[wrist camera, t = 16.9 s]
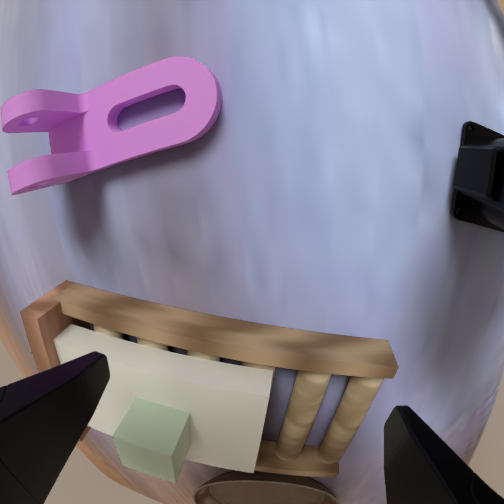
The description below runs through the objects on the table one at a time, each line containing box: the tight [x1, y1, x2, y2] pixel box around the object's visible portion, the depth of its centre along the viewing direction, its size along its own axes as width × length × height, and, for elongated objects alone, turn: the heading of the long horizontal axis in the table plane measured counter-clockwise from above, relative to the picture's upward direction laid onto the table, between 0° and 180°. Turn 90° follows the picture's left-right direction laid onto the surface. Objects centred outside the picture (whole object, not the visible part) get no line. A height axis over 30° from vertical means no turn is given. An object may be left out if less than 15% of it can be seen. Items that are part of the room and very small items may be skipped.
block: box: [113, 397, 191, 483], centre depth 17 cm, size 4×4×4 cm
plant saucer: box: [193, 470, 339, 504], centre depth 28 cm, size 18×18×3 cm
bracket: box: [1, 56, 222, 195], centre depth 15 cm, size 13×6×7 cm, turn 101°
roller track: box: [20, 280, 398, 478], centre depth 21 cm, size 26×14×6 cm, turn 83°
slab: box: [53, 324, 273, 473], centre depth 20 cm, size 16×10×2 cm, turn 85°
